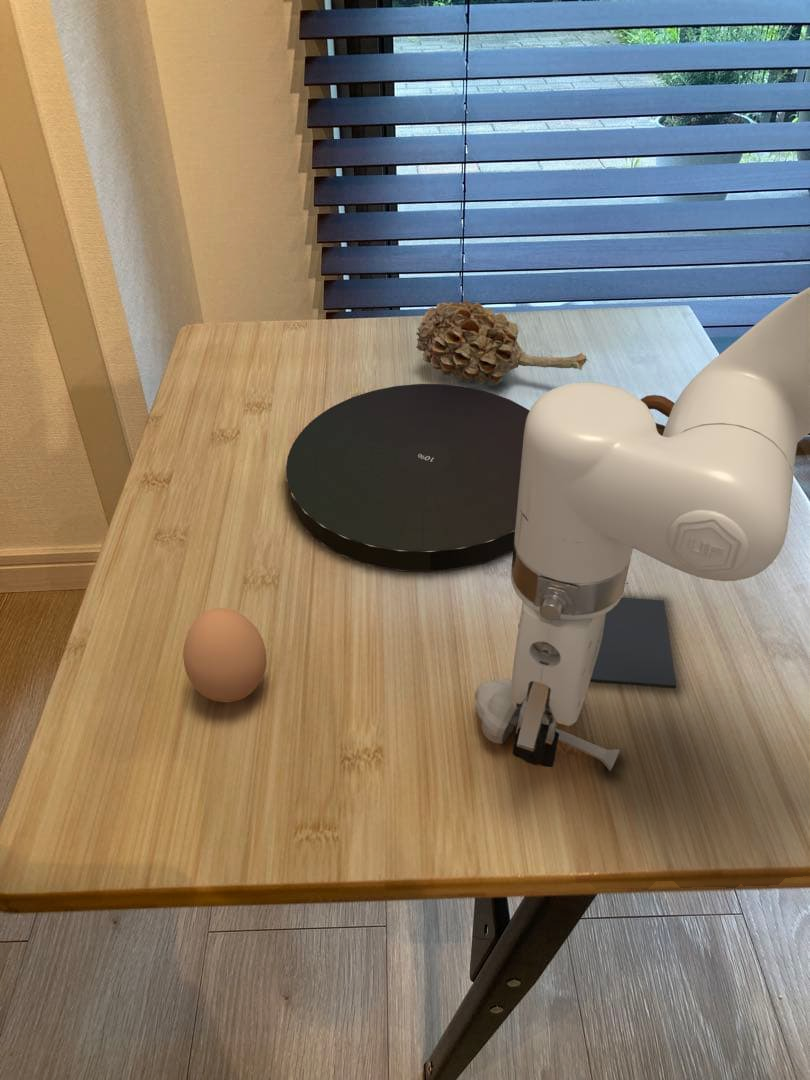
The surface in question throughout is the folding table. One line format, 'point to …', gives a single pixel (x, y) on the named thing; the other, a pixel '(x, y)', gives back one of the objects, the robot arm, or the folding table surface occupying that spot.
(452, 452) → the disc
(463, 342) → the pine cone
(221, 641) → the egg
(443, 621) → the folding table surface
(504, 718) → the mushroom
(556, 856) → the folding table surface
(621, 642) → the coaster
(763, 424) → the robot arm
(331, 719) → the folding table surface
